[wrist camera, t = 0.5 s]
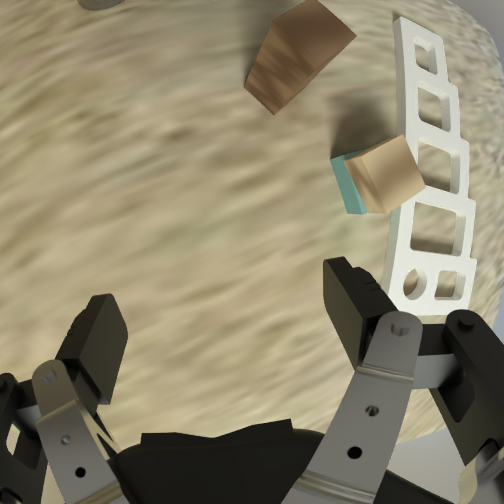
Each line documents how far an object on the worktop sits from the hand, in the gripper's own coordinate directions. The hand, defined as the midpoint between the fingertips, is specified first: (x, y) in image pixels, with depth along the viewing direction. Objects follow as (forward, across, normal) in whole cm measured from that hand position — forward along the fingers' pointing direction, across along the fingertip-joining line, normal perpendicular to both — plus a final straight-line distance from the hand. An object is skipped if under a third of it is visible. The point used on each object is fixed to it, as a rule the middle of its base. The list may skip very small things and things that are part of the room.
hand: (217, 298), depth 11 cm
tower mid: (+23, -18, +3) cm, 29 cm away
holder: (+29, -32, +4) cm, 44 cm away
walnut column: (+29, -8, -8) cm, 31 cm away
